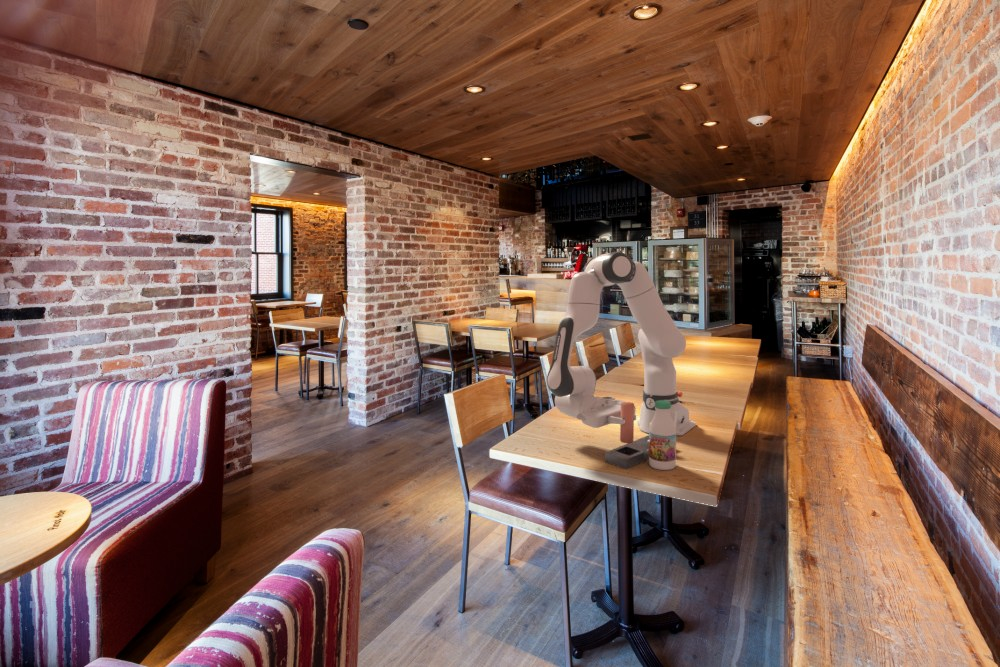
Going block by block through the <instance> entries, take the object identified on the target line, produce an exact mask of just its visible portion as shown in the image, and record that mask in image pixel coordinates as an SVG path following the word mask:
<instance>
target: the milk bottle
mask: <svg viewBox="0 0 1000 667" xmlns="http://www.w3.org/2000/svg"><path fill="white" fill-rule="evenodd" d="M655 409H656V412H655V415H654V417H653V419H652V421H651V424H650V430H649V433H648V434H649V459H648V464H649V466H650V467H651V468H653V469H655V470H658V471H659V470H660V471H670V470H672V469H675V468H676V458H677V457H676V456H677V435H676V428H675V424H674V422H673V420H672V417H671V414H670V410H671V402H669V401H665V400H659V401H656V402H655Z"/></svg>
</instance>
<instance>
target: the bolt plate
mask: <svg viewBox="0 0 1000 667" xmlns="http://www.w3.org/2000/svg"><path fill="white" fill-rule="evenodd" d="M650 424H651V422H650ZM647 459H648V460H649V435H645V436H644V437H642V438H638V439H635V440H633V443H624V444H623V445H621V446H618V447H616V448H613V449H611V450H608V451H606V452H604V462H605V463H608V464H610V465H613V466H616V467H619V468H622V469H624V470H628V469H630V468H633V467H635V466H637V465H639V464H641V462H642V463H643V461H644V462H646V461H648V460H647ZM645 460H646V461H645Z"/></svg>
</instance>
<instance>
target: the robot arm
mask: <svg viewBox="0 0 1000 667" xmlns="http://www.w3.org/2000/svg"><path fill="white" fill-rule="evenodd" d="M613 285H617V286H618V287H619V289H620V290H621V291H622V295H623V297H624V299H625V302H626V304H627V306H628V308H629V311H630V313H631V315H632V317H633V319H634V320H635V322H636V323H637V324H638V326H639V327H640V329H639V330H638V332H637V333H638V334H637V340H638V341H639V342H638V343H639V345H640V351H641V352H640V353H641V358H642V364H643V371H644V372H643V373H644V379H643V380H644V381H643V384H644V386H643V387H644V388H643V389H644V390H643V391H642V403H641V406H640V410H639V411H640V413H639V420H637V414H636V411H637V410H636V405H635V404H634V421H636V420H637V423H636V424H637V425H638V426H639V428H638V429H639V430H640V431H642V432H644V433H645V434H649V430H650V422H651V421H652V419H653V417H654V415H655V412H656V409H655V402H656V401H659V400H665V401H669V402H671V410H670V414H671V417H672V420H673V422H674V424H675V428H676V436H684V435H685V434H686V433H688V432H689V431H690V430H691V429H693V428H694V427H696V426H697V423H696V421H694V420H692V419H690V411H689V410H688V408H687V407H685V405H683V404H682V403H681V402H680V401H679V398H682V397H683V392H682V391H679V390H677V370H676V368H675V365H674V361H673V358H677V357H679V356H681V355H682V354H683V353H684V351H685V349H686V346H687V340H686V338H685V336H684V334H683V333H682V332H681V331H680V329H679V328H678V327H677V325H676V323H675V322H674V319H673V318H672V316H671V315H670V313H669V312H668V310H667V309H666V307H665V306H664V303H663V301H662V300H661V299H662V298H661V296H660V294H659V292H658V289H657V288H656V286H655V283H654V281H653V279H652V277H651V275H650V273H649V271H647V269H646V267H645V266H644V264H643V263H642V262H640V261H636V260H634V261H633V260H632V259H631V257H630V256H629V255H627V254H626V253H624V252H623V251H622V252H621V251H612V252H607V253H602V254H599V255H598V256H596V257H593V258H591V259H589V260H588V261H587V262H586V263H585V264H584V267H583V268H582V271H581V272H577V273H575V274H574V275H573V276H572V277H571V280H570V283H569V288H568V293H567V304H566V311H565V314H564V317H563V318H562V320H561V321H560V322H559V325H558V328H557V332H556V337H555V343H554V348H553V352H552V353H553V354H552V359H551V365H550V367H549V370H548V373H547V376H546V385H547V388H548V389H549V391H550V392H551V394H553V395H554V396H555V397H554V406H555V407H556V409H557V410H558V411H559V412H561V413H562V414H564V415H565V416H567V417H571V418H573V419H577V420H580V421H581V423H582V424H583V425H585V426H588V427H591V428H596V429H598V428H601V427H604V426H608V425H615V424H616V425H617V424H618V425H623V424H625V418H622V417H621V403H622V402H626V401H624V400H620V399H616V398H615V397H614V396H604V397H603V396H594V394H595V390H596V384H597V376H596V373H595V372H594V370H593V369H592V368H591V367H590V366H586V365H575V366H571V365H570V364H571V358H572V357H571V356H572V353H573V352H572V351H573V346H574V343H575V340H576V339H577V338H578V337H579V336H580V335H581V334H583V333H585V332H586V331H589V330H590V329H592V328H594V326H595V325H596V324H597V323H598V320H599V318H600V309H601V307H600V306H601V292H602V290H603V288H604V287H611V286H613Z"/></svg>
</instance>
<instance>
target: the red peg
mask: <svg viewBox="0 0 1000 667" xmlns="http://www.w3.org/2000/svg"><path fill="white" fill-rule="evenodd" d="M634 405H635V403H634V402H631V401H630V402H629V401H625V402H622V403H621V417H622V418H625V424H623V425H620V424H619V425H620V426H619V428H620V431H619V432H620V433H619V436H620V437H619V438H620V439H619V441H620V442H621V443H624V444H628V443H633V441H634V433H635V432H634V430H635V429H634V428H635V422H634V421H635V420H634Z"/></svg>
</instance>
